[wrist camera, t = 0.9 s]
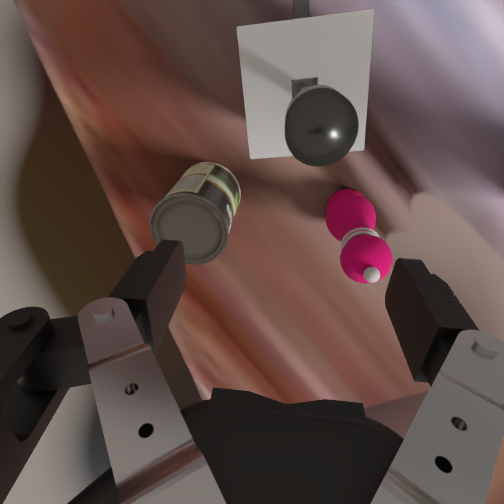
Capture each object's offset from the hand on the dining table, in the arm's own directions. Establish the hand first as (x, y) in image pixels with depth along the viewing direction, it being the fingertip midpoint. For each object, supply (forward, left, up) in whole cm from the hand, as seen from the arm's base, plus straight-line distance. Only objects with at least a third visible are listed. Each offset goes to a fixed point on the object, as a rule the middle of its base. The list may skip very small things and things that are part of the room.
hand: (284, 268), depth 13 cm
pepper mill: (-9, +15, -40) cm, 44 cm away
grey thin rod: (-2, -4, -29) cm, 29 cm away
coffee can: (+13, +11, -40) cm, 44 cm away
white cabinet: (-2, -5, -40) cm, 40 cm away
